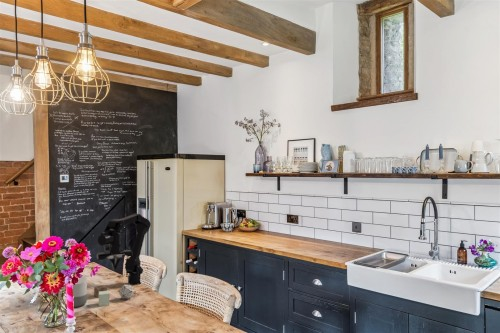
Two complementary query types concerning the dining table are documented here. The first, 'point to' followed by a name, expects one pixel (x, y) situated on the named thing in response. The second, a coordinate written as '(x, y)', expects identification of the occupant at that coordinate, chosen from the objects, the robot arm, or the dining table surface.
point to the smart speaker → (80, 292)
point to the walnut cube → (98, 289)
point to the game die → (126, 291)
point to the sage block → (103, 298)
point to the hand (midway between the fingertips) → (114, 269)
